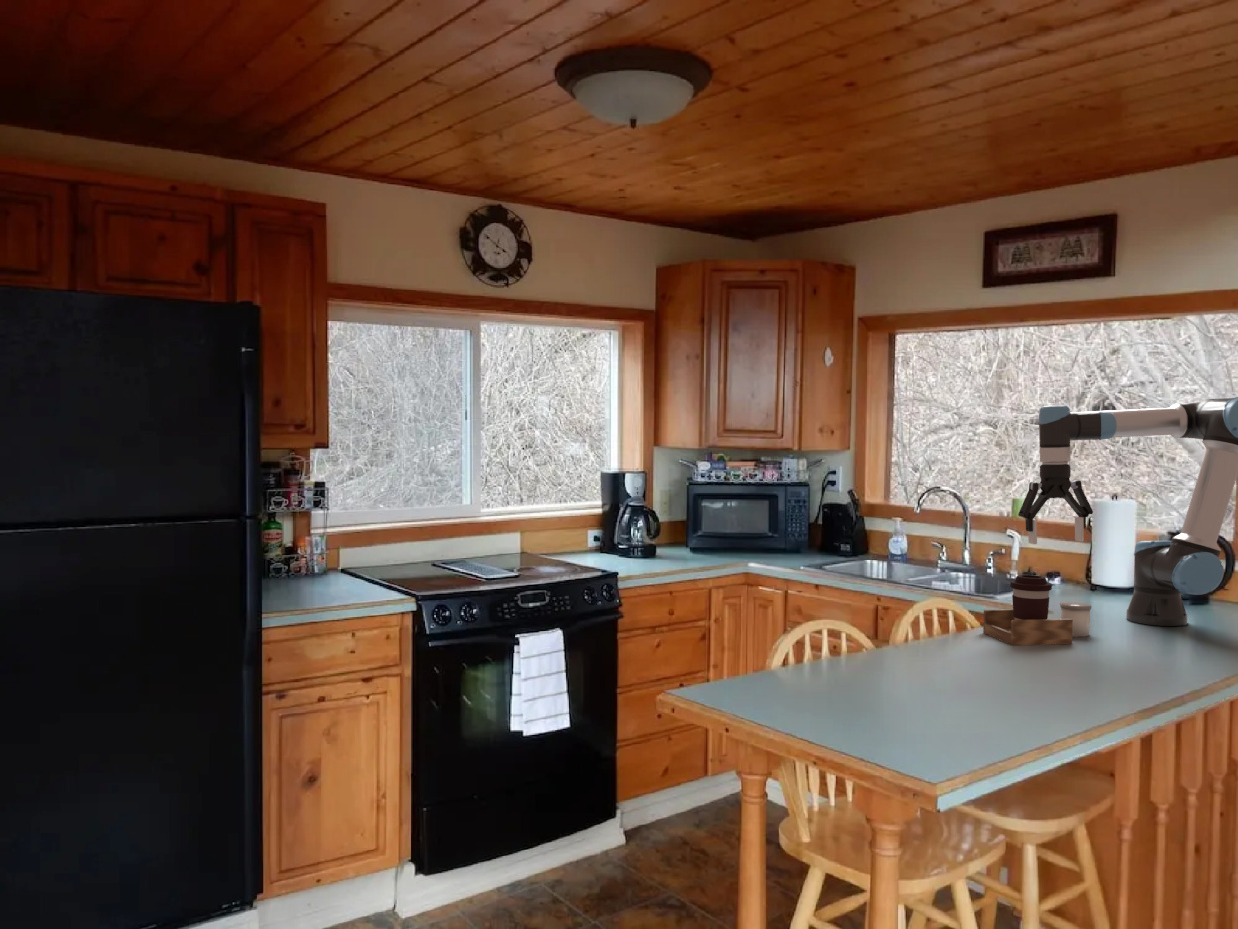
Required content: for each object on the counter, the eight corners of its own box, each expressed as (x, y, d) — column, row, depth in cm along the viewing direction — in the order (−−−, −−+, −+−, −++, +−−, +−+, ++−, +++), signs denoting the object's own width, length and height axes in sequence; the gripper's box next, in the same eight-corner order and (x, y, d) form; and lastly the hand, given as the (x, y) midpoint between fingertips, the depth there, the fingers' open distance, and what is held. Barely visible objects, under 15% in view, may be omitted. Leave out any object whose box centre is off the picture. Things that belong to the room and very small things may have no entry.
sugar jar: (1079, 630, 263) (1080, 602, 263) (1096, 636, 256) (1097, 607, 255) (1053, 631, 262) (1054, 602, 262) (1069, 637, 255) (1070, 607, 254)
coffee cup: (1057, 638, 248) (1058, 579, 247) (1018, 637, 248) (1019, 579, 247) (1041, 629, 258) (1042, 573, 257) (1003, 629, 258) (1004, 573, 257)
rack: (1039, 631, 261) (1039, 608, 261) (1072, 643, 247) (1072, 619, 246) (983, 632, 259) (983, 609, 259) (1012, 645, 245) (1013, 620, 244)
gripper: (1088, 461, 265) (1089, 538, 266) (1004, 464, 261) (1005, 543, 262) (1106, 461, 258) (1107, 541, 258) (1019, 465, 254) (1020, 546, 255)
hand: (1056, 542), depth 260 cm, fingers open, 13 cm apart
